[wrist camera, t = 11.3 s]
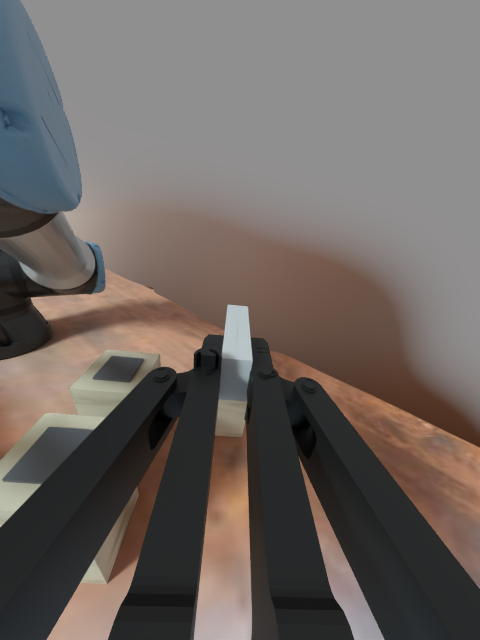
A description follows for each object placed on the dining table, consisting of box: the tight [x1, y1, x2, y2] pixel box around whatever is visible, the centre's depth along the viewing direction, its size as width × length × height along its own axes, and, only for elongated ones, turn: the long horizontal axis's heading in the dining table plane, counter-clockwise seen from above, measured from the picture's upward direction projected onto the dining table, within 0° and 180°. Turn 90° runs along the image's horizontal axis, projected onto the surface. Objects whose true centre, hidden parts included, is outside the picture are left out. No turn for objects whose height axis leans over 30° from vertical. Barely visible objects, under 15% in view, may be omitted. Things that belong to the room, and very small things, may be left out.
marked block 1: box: [69, 350, 161, 468], centre depth 29 cm, size 7×7×14 cm
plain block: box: [215, 398, 247, 438], centre depth 34 cm, size 7×7×14 cm
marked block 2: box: [0, 413, 139, 584], centre depth 20 cm, size 7×7×14 cm
